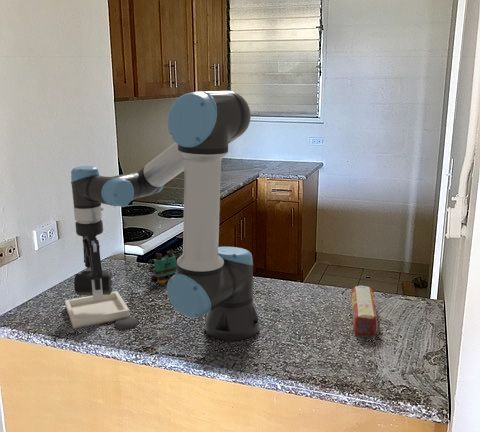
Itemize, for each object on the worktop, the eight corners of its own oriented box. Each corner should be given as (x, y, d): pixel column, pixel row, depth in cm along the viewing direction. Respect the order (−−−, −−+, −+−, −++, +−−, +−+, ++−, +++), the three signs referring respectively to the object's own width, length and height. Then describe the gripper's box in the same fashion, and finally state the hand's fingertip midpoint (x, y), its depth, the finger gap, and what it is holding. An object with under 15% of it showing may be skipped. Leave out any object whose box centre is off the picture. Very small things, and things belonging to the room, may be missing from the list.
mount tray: (129, 317, 154) (129, 310, 153) (73, 328, 147) (72, 321, 147) (117, 298, 168) (117, 291, 167) (65, 307, 161) (65, 300, 161)
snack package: (377, 338, 139) (378, 315, 138) (352, 337, 141) (353, 313, 139) (372, 305, 160) (373, 285, 158) (350, 304, 161) (351, 284, 159)
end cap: (75, 299, 153) (73, 277, 151) (81, 290, 159) (79, 269, 158) (109, 298, 153) (108, 276, 151) (114, 289, 160) (112, 268, 158)
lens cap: (140, 327, 148) (140, 324, 148) (117, 332, 146) (117, 329, 145) (134, 319, 154) (134, 315, 154) (112, 323, 151) (112, 320, 151)
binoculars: (163, 246, 189) (178, 249, 181) (166, 274, 190) (181, 279, 183) (141, 251, 183) (156, 255, 175) (145, 280, 185) (159, 285, 177)
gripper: (109, 227, 142) (115, 304, 148) (95, 210, 162) (100, 279, 167) (81, 231, 139) (88, 309, 145) (69, 213, 158) (76, 283, 164)
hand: (95, 293), depth 156 cm, fingers closed on end cap, 9 cm apart
